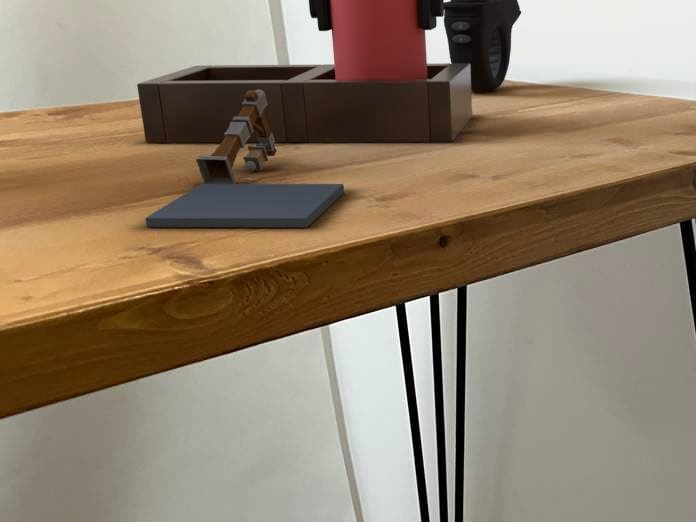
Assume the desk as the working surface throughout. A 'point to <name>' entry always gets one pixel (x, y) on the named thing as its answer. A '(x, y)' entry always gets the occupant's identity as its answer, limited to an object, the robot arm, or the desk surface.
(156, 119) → the divided wooden tray
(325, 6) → the robot arm
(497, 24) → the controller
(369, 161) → the desk surface
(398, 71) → the beer can
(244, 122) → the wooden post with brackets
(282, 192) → the coaster
